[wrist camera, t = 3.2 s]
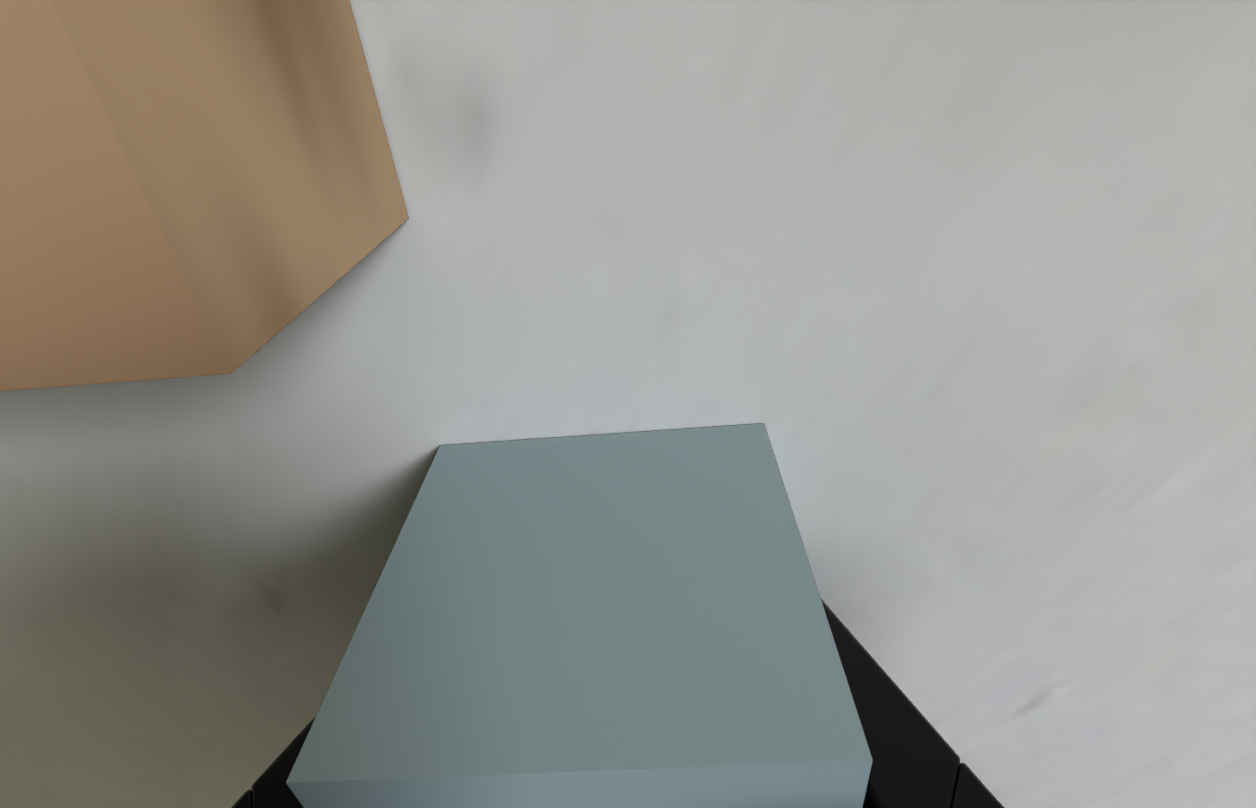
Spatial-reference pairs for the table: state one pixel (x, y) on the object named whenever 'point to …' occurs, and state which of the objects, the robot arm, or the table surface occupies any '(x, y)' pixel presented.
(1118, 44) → the table surface
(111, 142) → the walnut block
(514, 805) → the slate block
